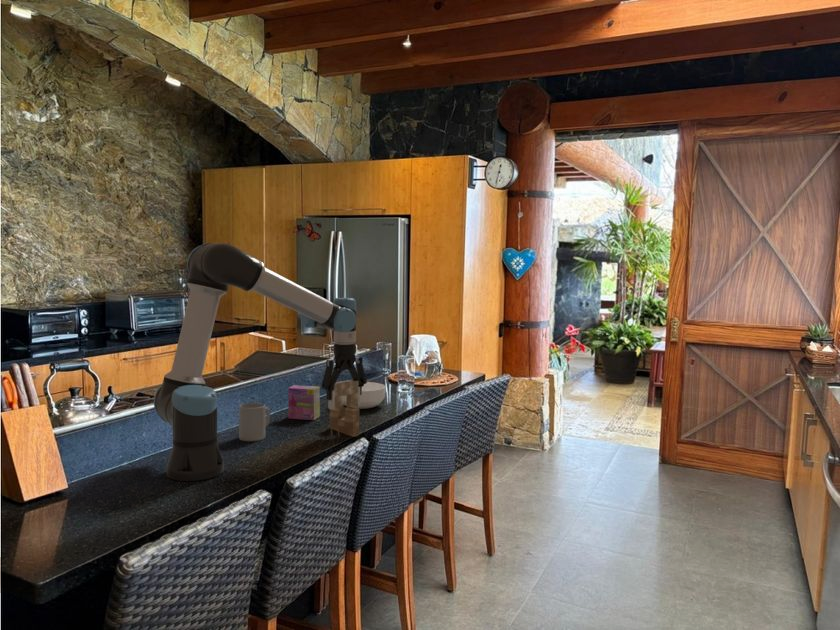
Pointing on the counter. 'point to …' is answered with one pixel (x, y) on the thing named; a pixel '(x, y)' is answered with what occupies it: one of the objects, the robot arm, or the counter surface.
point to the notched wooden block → (345, 420)
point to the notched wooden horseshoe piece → (346, 393)
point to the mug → (253, 421)
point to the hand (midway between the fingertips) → (344, 406)
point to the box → (304, 402)
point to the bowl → (369, 395)
